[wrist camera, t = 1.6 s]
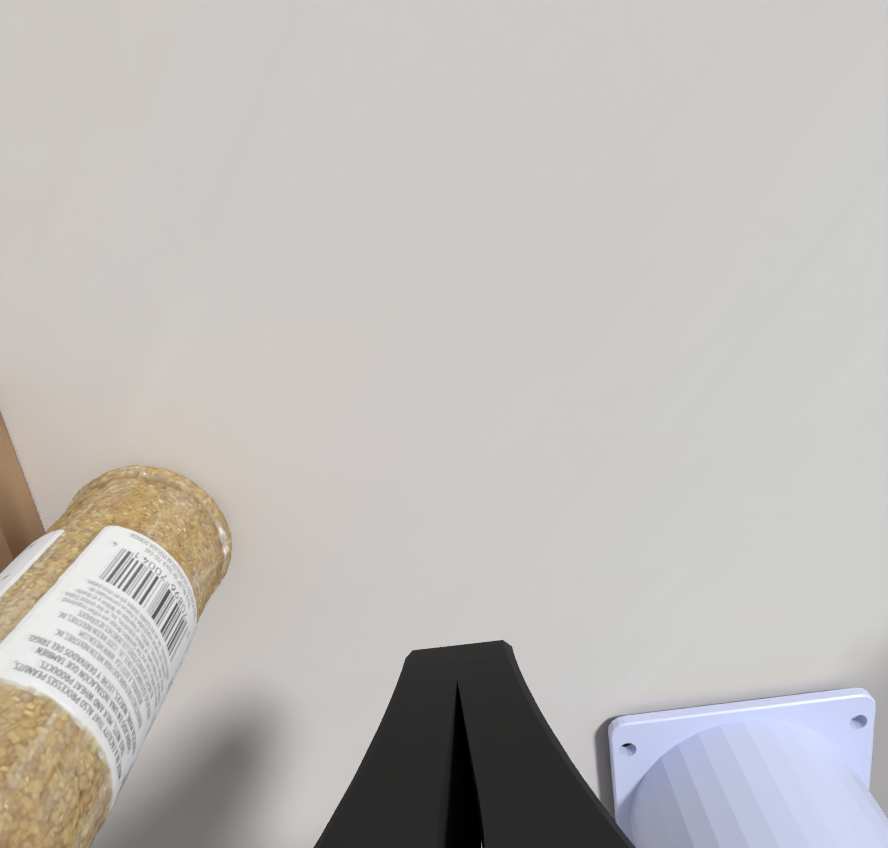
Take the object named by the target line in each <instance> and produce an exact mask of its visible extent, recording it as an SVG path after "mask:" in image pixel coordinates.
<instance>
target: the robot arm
mask: <svg viewBox="0 0 888 848" xmlns="http://www.w3.org/2000/svg"><path fill="white" fill-rule="evenodd" d="M875 706H876V705H875V700H874V699H873V698H872V697H871V695H870V694H869V693H868V692H867V691H866V690H865V689H862V688H847V689H838V690H830V691H822V692H814V693H806V694H798V695H789V696H781V697H773V698H765V699H757V700H749V701H741V702H732V703H724V704H716V705H708V706H700V707H692V708H684V709H675V710H667V711H659V712H651V713H643V714H635V715H627V716H621V717H618V718H616V719H614V720H613V721H612V722H611V723H610V725H609V727H608V737H609V750H610V762H611V774H612V786H613V799H614V811H615V821H614V819H613V818H612V817H611V816H610V814H609V813H608V812H607V810H606V809H605V808H604V806H603V805H602V803H601V802H600V801H599V799H598V798H597V797H596V795H595V794H594V792H593V791H592V790H591V788H590V787H589V786H588V784H587V783H586V782H585V780H584V779H583V777H582V776H581V774H580V773H579V771H578V770H577V768H576V767H575V765H574V764H573V763H572V761H571V760H570V758H569V756H568V755H567V753H566V752H565V750H564V749H563V747H562V745H561V744H560V742H559V741H558V739H557V737H556V736H555V734H554V733H553V731H552V729H551V728H550V726H549V725H548V723H547V721H546V720H545V718H544V716H543V714H542V713H541V711H540V709H539V707H538V706H537V704H536V702H535V700H534V698H533V696H532V694H531V692H530V690H529V689H528V687H527V684H526V682H525V680H524V678H523V676H522V674H521V671H520V669H519V667H518V664H517V661H516V659H515V656H514V653H513V649H512V646H510V645H509V644H508V643H506V642H505V641H504V640H500V641H491V642H482V643H474V644H465V645H456V646H447V647H439V648H430V649H421V650H413V651H412V652H411V653H410V654H409V655H408V656H407V657H406V659H405V662H404V665H403V668H402V671H401V674H400V677H399V680H398V682H397V685H396V688H395V690H394V693H393V695H392V698H391V700H390V703H389V705H388V707H387V709H386V712H385V714H384V716H383V719H382V721H381V723H380V725H379V728H378V730H377V732H376V734H375V736H374V738H373V740H372V742H371V744H370V746H369V748H368V750H367V752H366V754H365V756H364V758H363V760H362V762H361V764H360V766H359V768H358V770H357V772H356V774H355V776H354V778H353V780H352V782H351V784H350V785H349V787H348V789H347V791H346V792H345V794H344V796H343V798H342V800H341V801H340V803H339V805H338V807H337V808H336V810H335V812H334V814H333V815H332V817H331V819H330V821H329V822H328V824H327V826H326V828H325V829H324V831H323V833H322V835H321V836H320V838H319V840H318V841H317V843H316V845H315V846H314V848H481V842H482V848H888V819H887V817H886V816H885V814H884V813H883V811H882V810H881V808H880V807H879V805H878V804H877V802H876V801H875V799H874V798H873V797H872V795H871V793H870V792H869V785H870V772H871V759H872V745H873V733H874V718H875ZM857 715H859V716H858V717H857V718H854V719H852V718H853V717H855V716H857ZM626 743H632V744H630V745H629V746H626V747H621V746H622V745H623V744H626Z"/></svg>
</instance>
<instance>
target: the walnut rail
mask: <svg viewBox="0 0 888 848" xmlns="http://www.w3.org/2000/svg"><path fill="white" fill-rule="evenodd" d="M44 534H45V531H44V528H43V525H42V523H41V520H40V517H39V515H38V512H37V509H36V507H35V504H34V501H33V499H32V496H31V493H30V491H29V488H28V485H27V483H26V480H25V477H24V474H23V472H22V469H21V466H20V464H19V461H18V458H17V456H16V453H15V450H14V448H13V445H12V442H11V440H10V437H9V434H8V431H7V429H6V426H5V423H4V421H3V418H2V415H1V413H0V573H1V572H2V571H3V570H4V569H5V568H6V567H7V566H8V565H9V564H10V563H11V562H12V561H13V560H14V559H15V558H16V557H17V556H18V555H19V554H20V553H21V552H23V551H24V550H25V549H26V548H27V547H28V546H29V545H30V544H31V543H33V542H34V541H36V540H37V539H39V538H40V537H42V536H43V535H44Z"/></svg>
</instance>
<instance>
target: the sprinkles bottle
mask: <svg viewBox="0 0 888 848" xmlns="http://www.w3.org/2000/svg"><path fill="white" fill-rule="evenodd" d="M231 548H232V544H231V533H230V531H229V528H228V525H227V522H226V520H225V518H224V516H223V514H222V512H221V511H220V510H219V509H218V506H217V504H216V503H215V502H214V501H213V500H212V498H211V497H210V496H209V495H208V494H206V493H205V492H204V491H203V490H202V489H201V488H200V487H199V486H198V485H196V484H195V483H193V482H192V481H190V480H188V479H186V478H184V477H183V476H181V475H178V474H176V473H173V472H170V471H167V470H162V469H157V468H153V467H145V466H136V465H134V466H128V467H124V468H118V469H115V470H112V471H110V472H107V473H105V474H103V475H101V476H100V477H98V478H97V479H94V480H92V481H91V482H90V483H88V484H87V485H85V486H84V487H83V488H82V489H81V490H79V491H78V493H77V494H76V495H75V497H74V498H73V499H72V501H71V503H70V505H69V506H68V508H67V511H66V512H65V513H64V514H63V515H62V516H61V517H60V518H59V519H58V520H57V521H56V522H55V523H54V524H53V525H52V526H51V527H50V528H49V529H48V530H47V531H46V533H45V534H44V535H43V536H42V537H40V538H39V539H37V540H36V541H34V542H33V543H31V544H30V545H29V546H28V547H27V548H26V549H25V550H24V551H23V552H21V553H20V554H19V555H18V556H17V557H16V558H15V559H14V560H13V561H12V562H11V563H10V564H9V565H8V566H7V567H6V568H5V569H4V570H3V571H2V572H1V573H0V848H89V847H90V846H91V844H92V842H93V840H94V837H95V835H96V834H97V832H98V831H99V830H100V829H101V827H102V825H103V824H104V822H105V821H106V819H107V817H108V815H109V813H110V812H111V810H112V807H113V805H114V803H115V801H116V799H117V797H118V795H119V793H120V791H121V789H122V787H123V785H124V782H125V780H126V778H127V776H128V774H129V772H130V770H131V768H132V766H133V764H134V762H135V759H136V757H137V755H138V753H139V751H140V749H141V747H142V745H143V742H144V740H145V738H146V736H147V734H148V732H149V730H150V728H151V726H152V724H153V722H154V720H155V718H156V716H157V714H158V712H159V710H160V707H161V705H162V703H163V701H164V699H165V697H166V695H167V693H168V691H169V688H170V686H171V684H172V682H173V680H174V678H175V676H176V674H177V671H178V669H179V667H180V665H181V663H182V661H183V659H184V656H185V654H186V652H187V650H188V648H189V646H190V644H191V641H192V639H193V636H194V633H195V629H196V624H197V622H198V620H199V618H200V616H201V614H202V612H203V610H204V608H205V605H206V603H207V601H208V600H209V598H210V595H212V593H213V592H214V591H215V590H216V588H217V587H218V586H219V584H220V582H221V580H222V579H223V577H224V576H225V575H226V573H227V570H228V567H229V563H230V559H231Z"/></svg>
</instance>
